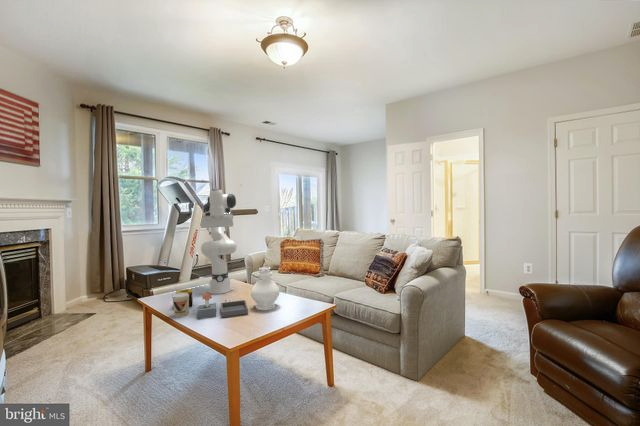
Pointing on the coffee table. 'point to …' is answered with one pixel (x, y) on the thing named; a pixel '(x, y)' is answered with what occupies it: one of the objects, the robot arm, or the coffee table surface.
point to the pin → (206, 299)
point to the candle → (188, 293)
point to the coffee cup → (181, 304)
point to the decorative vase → (265, 290)
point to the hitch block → (207, 311)
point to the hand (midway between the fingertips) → (217, 234)
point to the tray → (234, 308)
